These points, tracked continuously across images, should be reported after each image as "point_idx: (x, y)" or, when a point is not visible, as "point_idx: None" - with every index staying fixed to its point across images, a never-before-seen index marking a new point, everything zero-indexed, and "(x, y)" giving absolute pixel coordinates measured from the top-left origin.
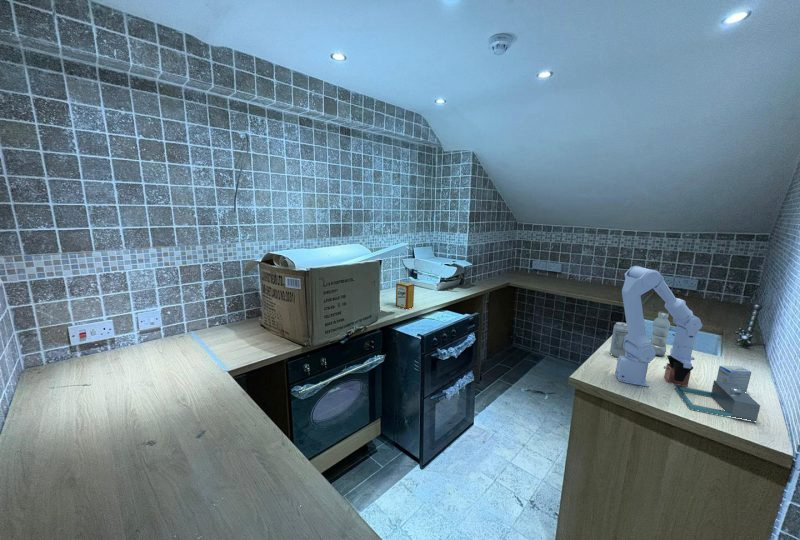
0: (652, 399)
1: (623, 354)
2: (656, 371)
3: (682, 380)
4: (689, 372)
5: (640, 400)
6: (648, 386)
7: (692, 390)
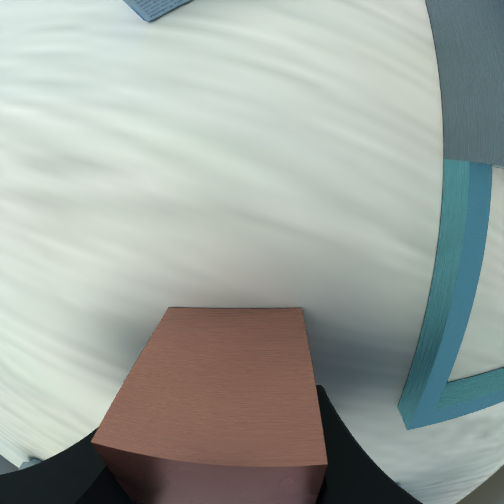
0: (493, 454)
1: None
2: None
3: (326, 399)
4: (325, 455)
5: (492, 470)
6: (400, 485)
7: (460, 329)
